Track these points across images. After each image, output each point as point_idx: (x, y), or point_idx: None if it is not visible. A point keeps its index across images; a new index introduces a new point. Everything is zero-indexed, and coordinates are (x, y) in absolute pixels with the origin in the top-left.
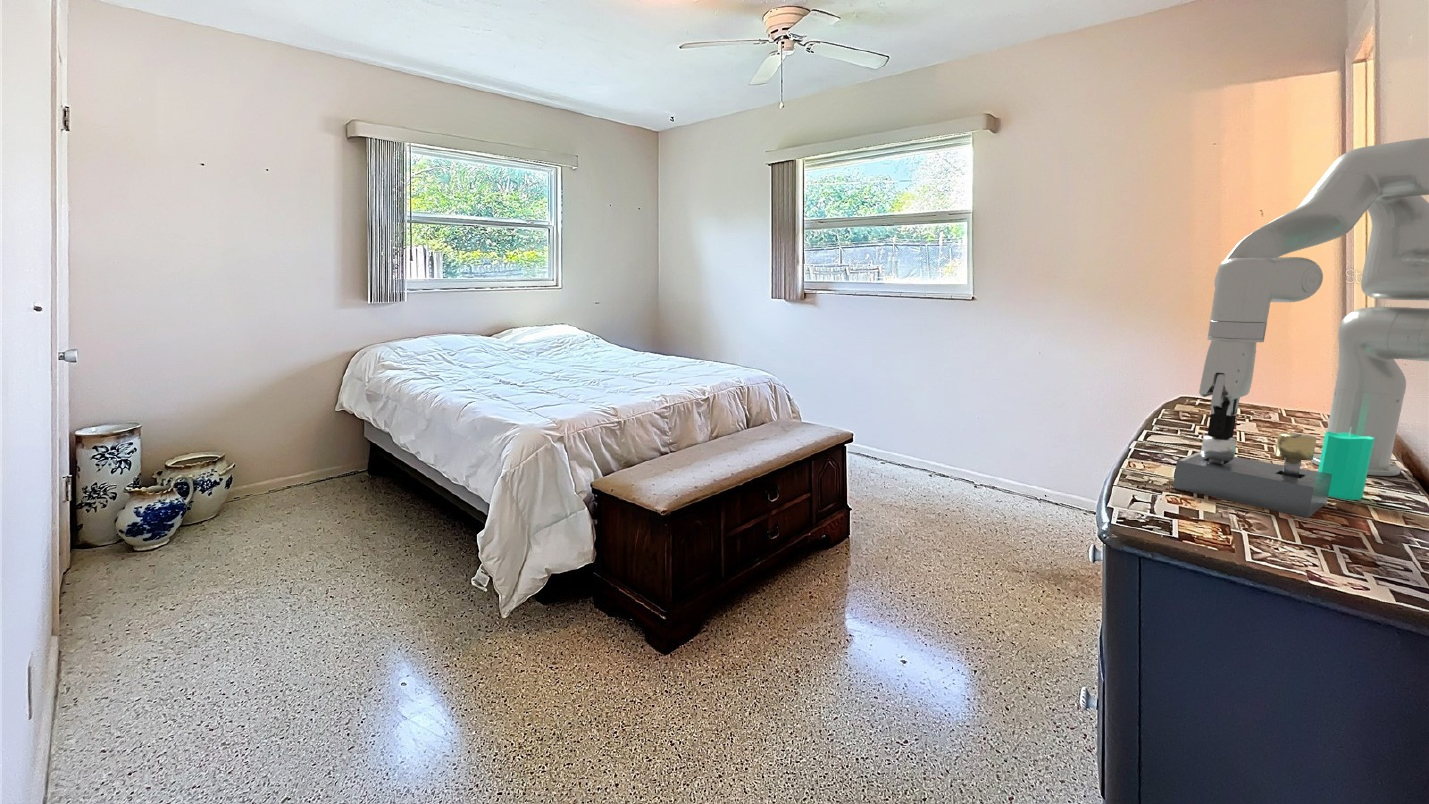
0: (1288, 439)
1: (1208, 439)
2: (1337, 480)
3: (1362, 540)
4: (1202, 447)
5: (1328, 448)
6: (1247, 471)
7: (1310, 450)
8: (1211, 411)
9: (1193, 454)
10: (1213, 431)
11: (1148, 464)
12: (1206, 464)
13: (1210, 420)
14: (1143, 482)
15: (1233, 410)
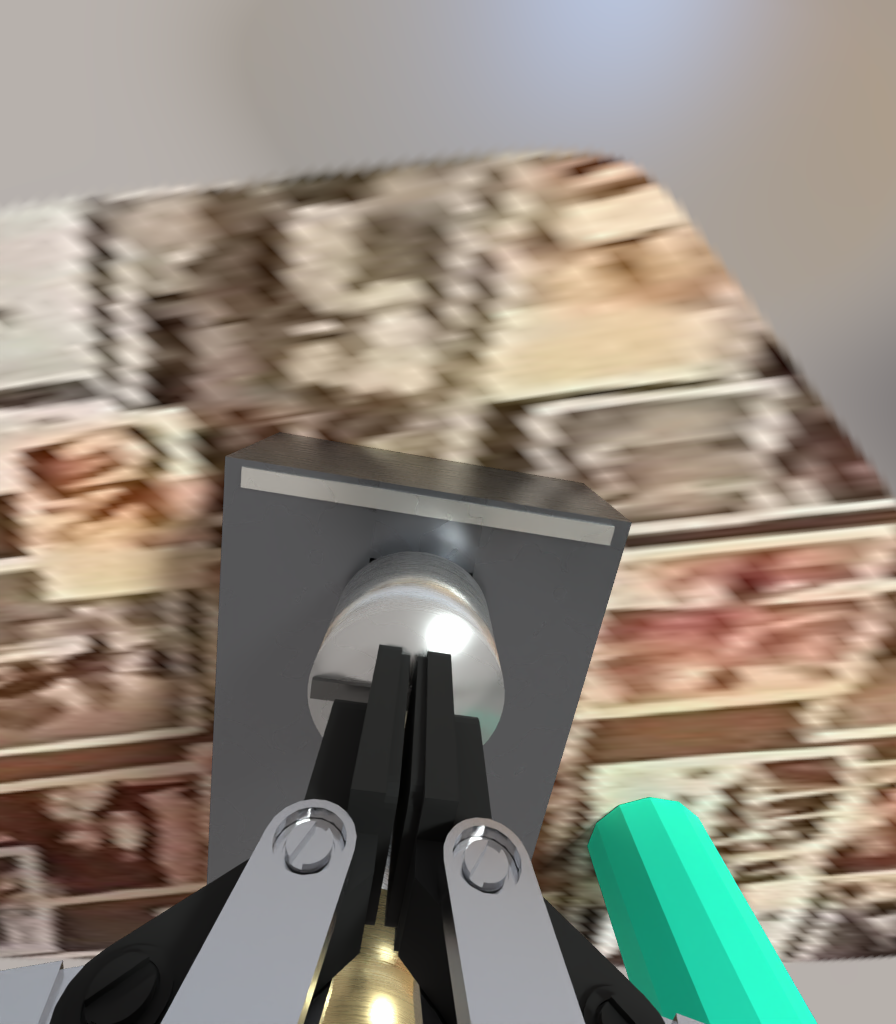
0: None
1: (327, 642)
2: (611, 898)
3: (143, 889)
4: (376, 579)
5: (696, 1015)
6: (279, 734)
7: None
8: (264, 836)
9: (472, 505)
10: (334, 702)
11: (695, 251)
12: (272, 587)
13: (363, 733)
14: (275, 305)
15: (414, 1002)
